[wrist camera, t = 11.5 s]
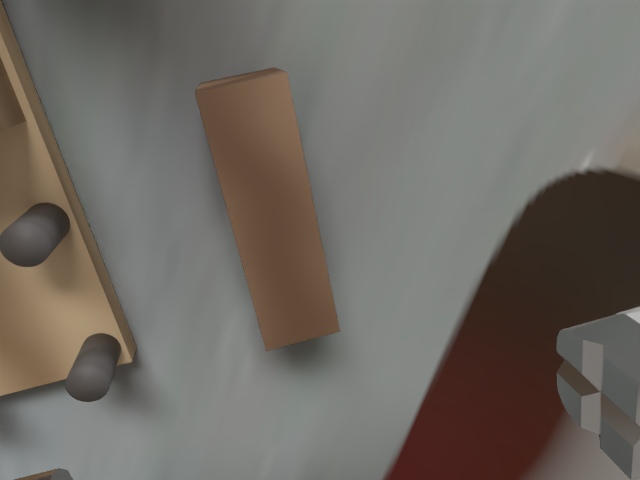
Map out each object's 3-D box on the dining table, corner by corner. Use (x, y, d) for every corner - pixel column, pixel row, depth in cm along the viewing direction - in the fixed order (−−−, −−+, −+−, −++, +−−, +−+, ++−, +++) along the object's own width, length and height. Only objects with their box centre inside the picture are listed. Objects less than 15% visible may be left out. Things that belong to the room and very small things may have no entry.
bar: (273, 67, 20) (287, 72, 16) (319, 282, 24) (339, 331, 20) (200, 82, 20) (194, 92, 16) (258, 298, 24) (266, 351, 20)
